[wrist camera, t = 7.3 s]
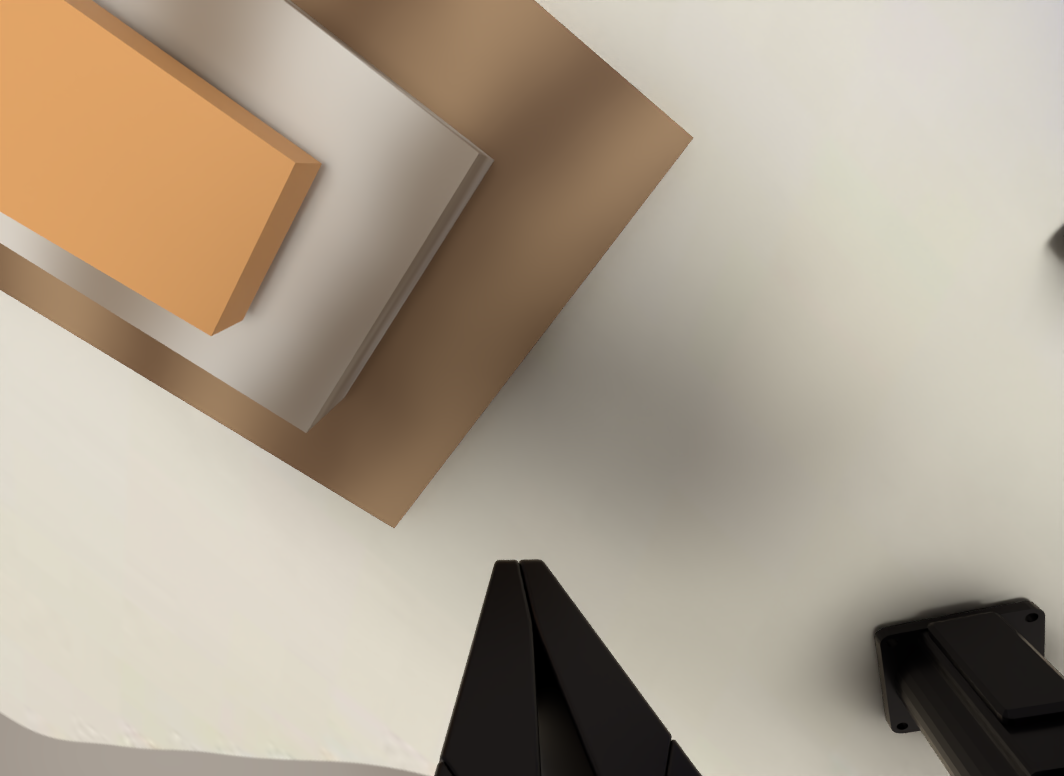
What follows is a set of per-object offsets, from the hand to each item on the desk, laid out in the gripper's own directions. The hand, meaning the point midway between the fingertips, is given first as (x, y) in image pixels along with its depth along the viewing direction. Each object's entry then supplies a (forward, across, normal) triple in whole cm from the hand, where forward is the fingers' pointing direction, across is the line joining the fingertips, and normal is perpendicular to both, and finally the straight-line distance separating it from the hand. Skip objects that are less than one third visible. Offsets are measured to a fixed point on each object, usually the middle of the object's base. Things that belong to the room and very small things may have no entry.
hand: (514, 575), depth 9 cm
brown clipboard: (+14, +8, -4) cm, 16 cm away
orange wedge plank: (+9, +9, -5) cm, 13 cm away
